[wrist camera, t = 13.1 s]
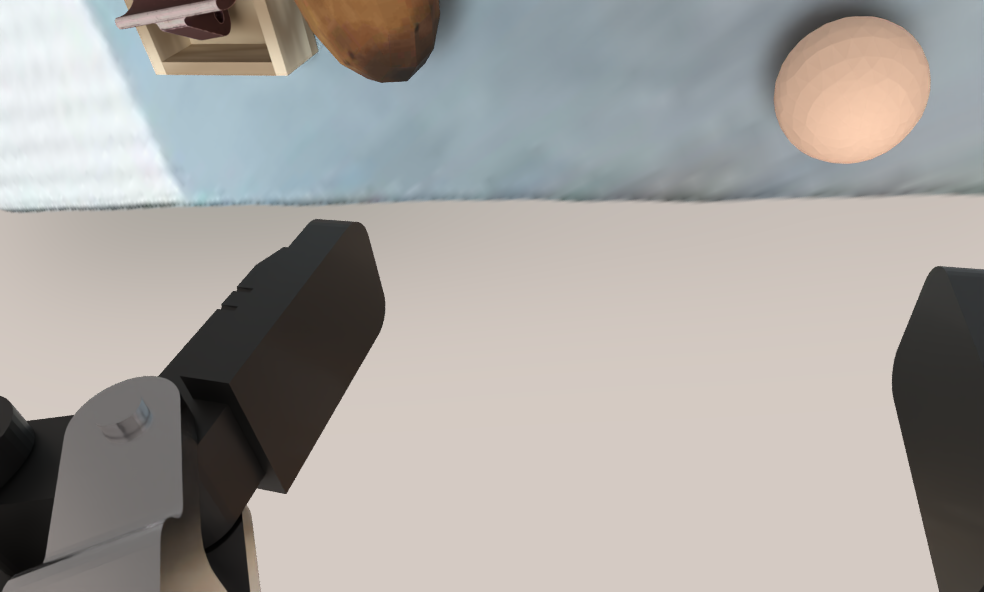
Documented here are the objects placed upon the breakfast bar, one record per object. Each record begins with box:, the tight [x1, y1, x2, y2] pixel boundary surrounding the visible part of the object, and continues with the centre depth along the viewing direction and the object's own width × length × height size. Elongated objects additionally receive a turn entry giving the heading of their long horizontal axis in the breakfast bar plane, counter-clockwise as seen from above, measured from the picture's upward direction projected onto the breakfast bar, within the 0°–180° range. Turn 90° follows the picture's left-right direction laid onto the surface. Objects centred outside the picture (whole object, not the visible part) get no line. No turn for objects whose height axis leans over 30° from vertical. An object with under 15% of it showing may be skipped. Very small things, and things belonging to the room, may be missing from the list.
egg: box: [774, 16, 930, 164], centre depth 32 cm, size 7×7×8 cm
